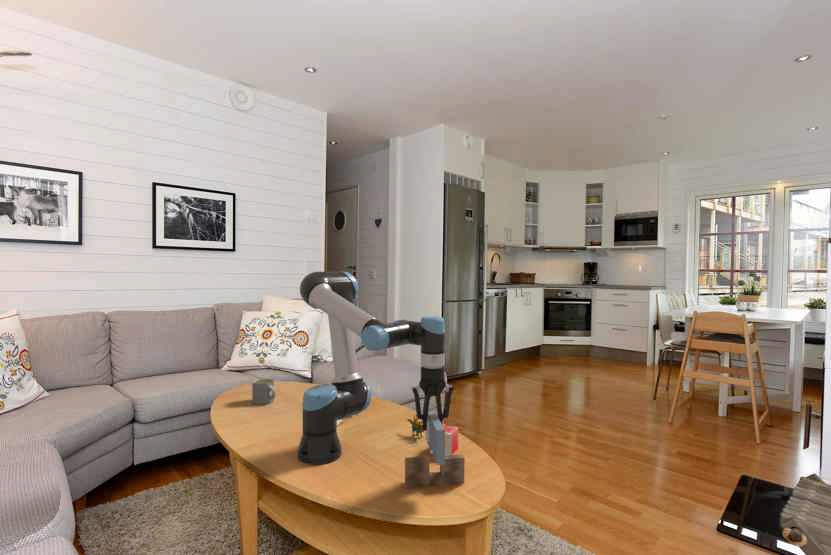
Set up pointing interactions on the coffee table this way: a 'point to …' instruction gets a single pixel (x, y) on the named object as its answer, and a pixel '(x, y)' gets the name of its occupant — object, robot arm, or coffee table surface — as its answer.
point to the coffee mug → (263, 391)
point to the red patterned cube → (450, 439)
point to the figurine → (416, 426)
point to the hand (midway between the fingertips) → (432, 439)
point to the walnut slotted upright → (421, 476)
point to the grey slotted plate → (436, 438)
